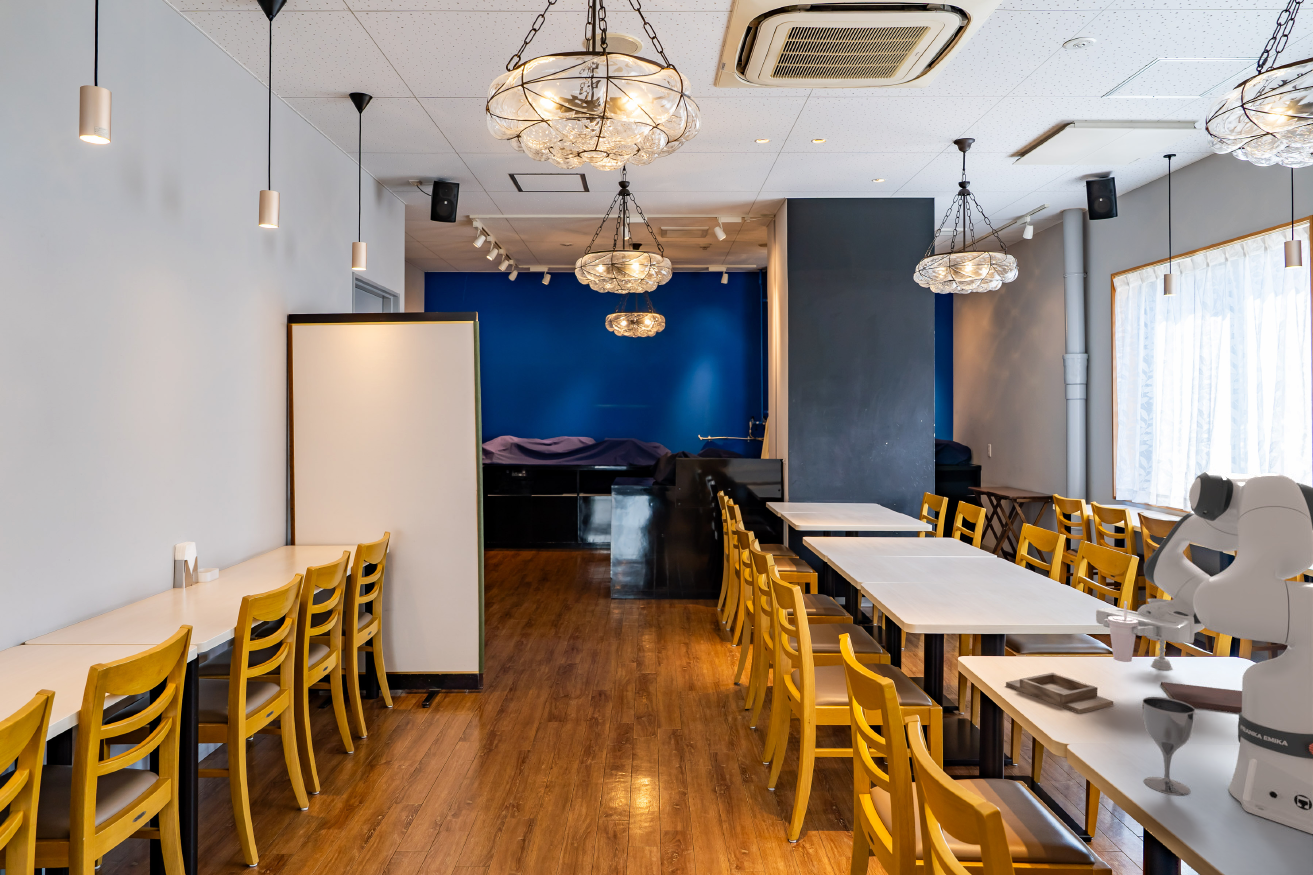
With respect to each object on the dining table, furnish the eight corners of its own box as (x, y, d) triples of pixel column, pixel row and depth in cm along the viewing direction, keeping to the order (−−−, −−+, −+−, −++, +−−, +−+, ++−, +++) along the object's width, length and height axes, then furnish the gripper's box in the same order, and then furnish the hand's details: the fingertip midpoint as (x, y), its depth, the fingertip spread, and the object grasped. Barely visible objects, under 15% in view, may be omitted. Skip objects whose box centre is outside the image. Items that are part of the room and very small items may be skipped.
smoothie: (1142, 664, 178) (1143, 605, 178) (1112, 662, 180) (1113, 603, 179) (1131, 656, 185) (1132, 598, 184) (1102, 654, 186) (1103, 597, 186)
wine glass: (1130, 779, 142) (1132, 699, 141) (1160, 772, 144) (1162, 694, 144) (1173, 799, 134) (1174, 715, 134) (1203, 792, 137) (1205, 709, 137)
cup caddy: (1113, 705, 179) (1113, 692, 179) (1079, 713, 174) (1079, 700, 174) (1038, 679, 197) (1038, 667, 197) (1005, 685, 192) (1006, 674, 192)
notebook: (1160, 687, 194) (1160, 679, 193) (1255, 698, 186) (1255, 690, 186) (1175, 707, 180) (1175, 699, 180) (1278, 720, 172) (1278, 711, 172)
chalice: (1183, 669, 206) (1184, 603, 206) (1166, 672, 204) (1167, 605, 203) (1157, 661, 213) (1158, 597, 212) (1140, 664, 210) (1141, 599, 210)
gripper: (1116, 599, 197) (1080, 604, 191) (1201, 618, 178) (1164, 624, 172) (1115, 623, 197) (1080, 629, 191) (1200, 644, 178) (1164, 652, 172)
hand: (1120, 627), depth 182 cm, fingers closed on smoothie, 6 cm apart
